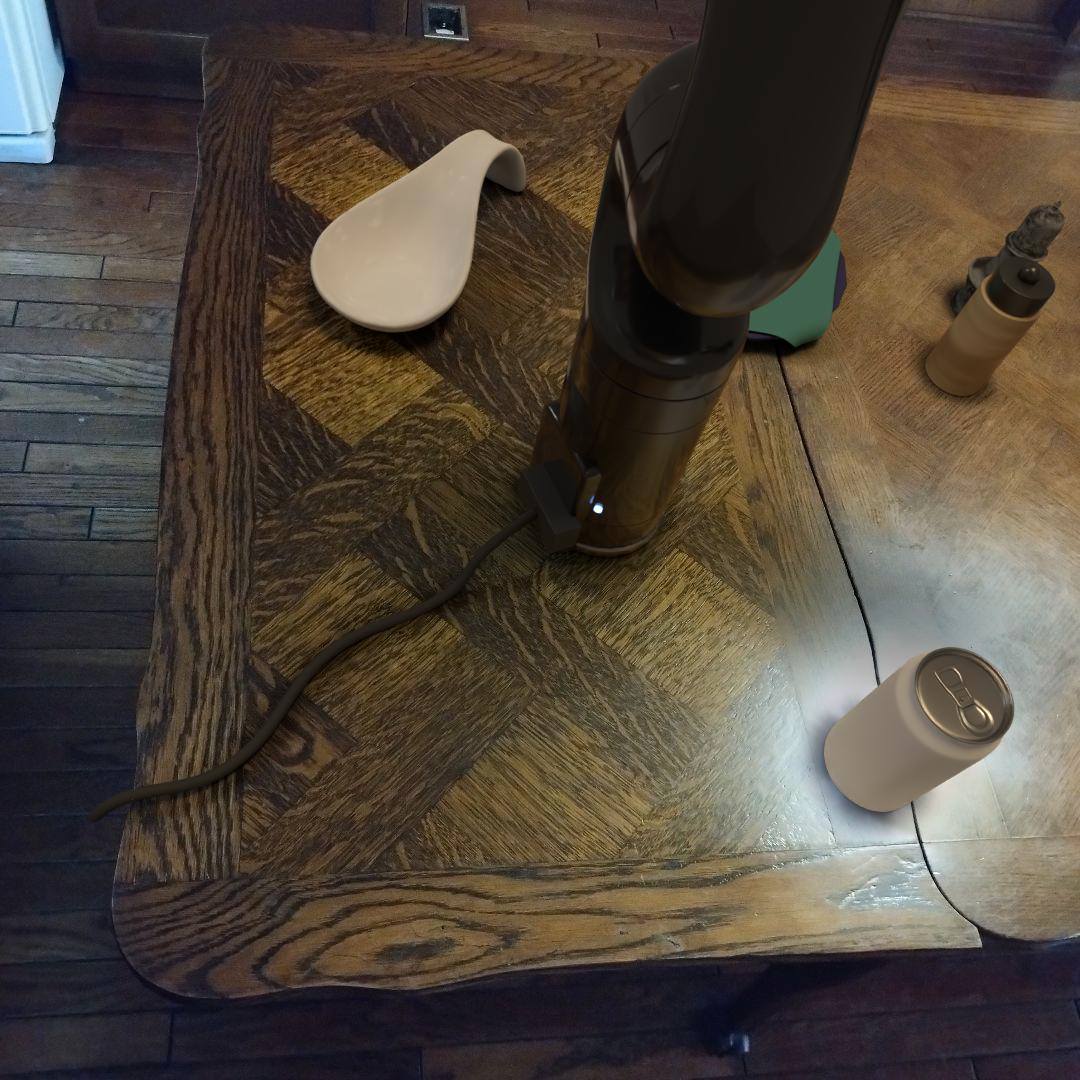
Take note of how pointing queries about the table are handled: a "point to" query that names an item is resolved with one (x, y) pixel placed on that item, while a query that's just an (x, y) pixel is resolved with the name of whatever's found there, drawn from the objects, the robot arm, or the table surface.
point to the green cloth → (804, 301)
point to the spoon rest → (412, 238)
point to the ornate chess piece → (1015, 248)
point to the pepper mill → (990, 326)
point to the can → (919, 729)
